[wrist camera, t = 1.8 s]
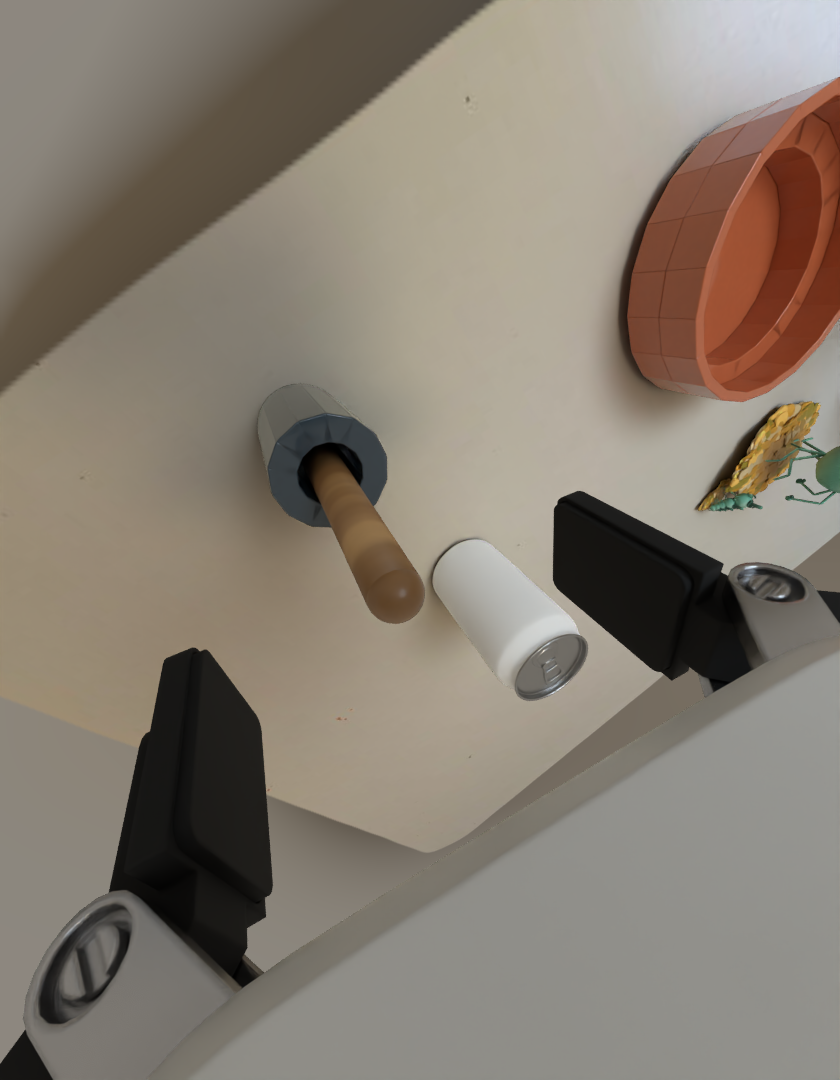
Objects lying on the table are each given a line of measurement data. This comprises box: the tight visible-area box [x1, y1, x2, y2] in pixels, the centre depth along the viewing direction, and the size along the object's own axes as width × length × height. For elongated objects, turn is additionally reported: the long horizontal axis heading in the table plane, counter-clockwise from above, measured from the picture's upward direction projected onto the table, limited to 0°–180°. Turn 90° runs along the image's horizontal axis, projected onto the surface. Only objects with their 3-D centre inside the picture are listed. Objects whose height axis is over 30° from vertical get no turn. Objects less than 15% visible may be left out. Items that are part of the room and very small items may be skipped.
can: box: [433, 539, 588, 701], centre depth 30 cm, size 6×6×12 cm
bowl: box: [627, 77, 840, 402], centre depth 27 cm, size 16×16×6 cm
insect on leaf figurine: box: [698, 401, 840, 511], centre depth 38 cm, size 10×18×15 cm, turn 116°
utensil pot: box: [257, 384, 387, 527], centre depth 20 cm, size 5×5×8 cm
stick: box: [302, 442, 425, 624], centre depth 17 cm, size 2×2×16 cm
